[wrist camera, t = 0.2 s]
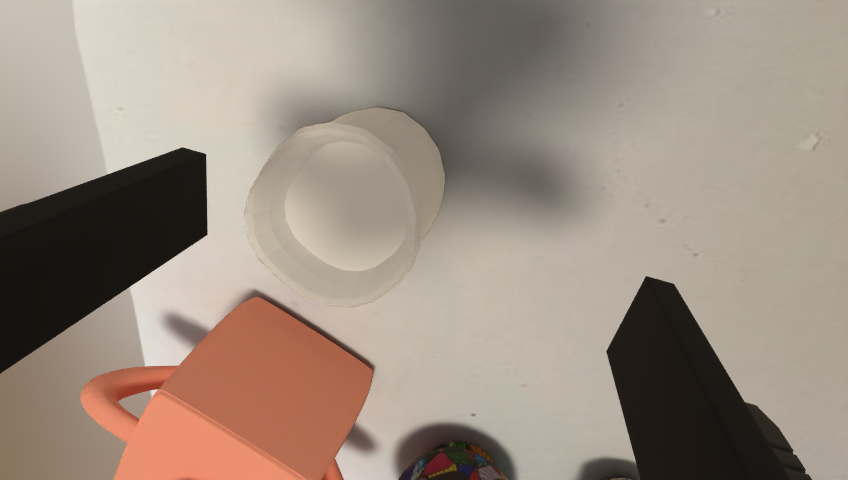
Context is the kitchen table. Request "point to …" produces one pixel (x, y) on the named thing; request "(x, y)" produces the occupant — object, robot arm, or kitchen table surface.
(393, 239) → the cup
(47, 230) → the robot arm
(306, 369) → the teapot
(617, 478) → the stone
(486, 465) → the egg
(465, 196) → the kitchen table surface
